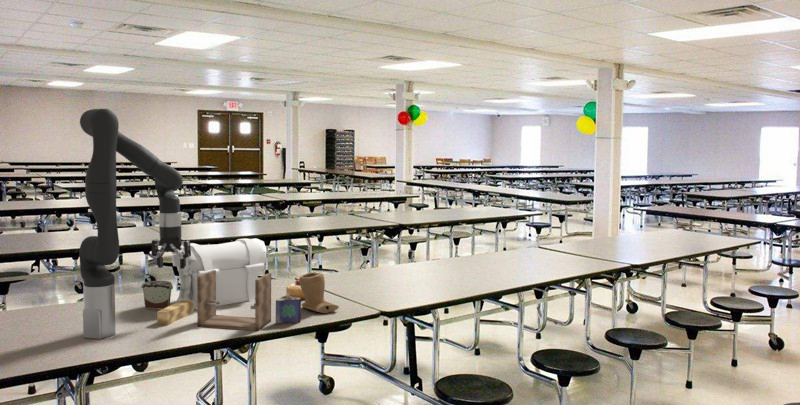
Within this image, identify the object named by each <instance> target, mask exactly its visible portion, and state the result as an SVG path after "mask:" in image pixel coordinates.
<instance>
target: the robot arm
mask: <svg viewBox="0 0 800 405" xmlns="http://www.w3.org/2000/svg"><path fill="white" fill-rule="evenodd" d="M79 125H80V128H81V130H82V131H83V132H84V133H85V134H87V135H88V136H90V137H92V155H91V159H90V161H89V164H88V167H87V170H86V173H85V178H84V179H85V180H84V185H85V186H84V187H85V188H84V190H85V194H84V195H85V199H86V203H87V205H88V207H89V209H90V211H91V213H92V215H93V217H94V219H95V223H96V228H97V235H90V236H87V237H85V238H84V239H83V240H82V242H81V243H80V247H79V256H78V257H79V267H80V268H79V269H80V276H81V279H82V280H83V302H84V309H83V310H82V329H83V330H82V331H83V332H82V333H83V334H82V336H83V337H82V338H84V339H96V340H97V339H98V340H100V339H103V338H108V337H109V338H110V337H113V336H114V335H116V291H115V290H116V288H115V282H116V280H115V275H114V274H113V273H112V272H110V271H109V270H108V269H107V268H106V266H111V265H113V264H115V262H116V261H117V260H118V258H119V255H120V240H119V239H120V238H119V237H120V236H119V231H118V230H119V229H118V219H117V153H118V154H119V155H121V156H122V157H123V158H124V159H126V160H128V162H130V163H132V164H133V165H134V166H135V167H136V168H137V169H139V170H140V171H141V172H142V173H144V174H145V175H147V176H149V177H152V178H154V187H155V191H156V195H157V198H158V201H159V202H158V204H159V207H158V208H159V209H158V210H159V218H158V222H159V223H158V224H159V226H158V227H159V238H160V239H158V238H156V239H152V240H151V257H155V258H156V266H157V268H159V269H162V268H164V257H163V256H164V254H165V253H172V252H176V254H178V255H179V257H180V258H181V259H180V269H184V268H185V267H186V258H187V257H189V256H191V247H190V243H191V241H190V240H183V239H182V235H183V234H182V216H181V203H180V198H179V197H178V196H176V194H175V190H178V189H180V188H181V187H182V186H183V183H184V180H183V176H182V174H181V173H180V171H178V170H177V169H175V168H174V167H173V166H171V165H169V164H167V163H166V162H164V161H162V160H161V159H160V158H158V157H157V156H156V155H155V154H154V153H152V152H151V151H150V150H149V149H148V148H146V147H145V146H143V145H141V144H140V143H139V142H136V141H135V140H133V139H131V138H130V137H128V136H126V135H125V134H123V133H122V132H120V131H119V128H120V127H119V118H118V117H117V114H115V112H114V111H113V110H111V109H109V108H92V109H88V110H86V111H84V112H83V113H82V114H81V116H80V119H79ZM159 245H160V249H159ZM181 246H183V247H184V250H183V249H182V248H181ZM184 251H185V253H184Z"/></svg>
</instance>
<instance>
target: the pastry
mask: <svg viewBox="0 0 800 405" xmlns="http://www.w3.org/2000/svg"><path fill="white" fill-rule="evenodd" d="M285 289H286V290H285V293H286V294H290V296H291V297H294V298H295V297H297V298H300V299H301V300H305V296H304V294H303V292H302V289H301V287H300V283H299V279H296V280H295V283H290V284H289V285H287V286H286V287H285Z"/></svg>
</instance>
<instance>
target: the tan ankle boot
mask: <svg viewBox="0 0 800 405" xmlns="http://www.w3.org/2000/svg"><path fill="white" fill-rule="evenodd" d="M299 283H300V287H301V289H302V292H303V294H304V296H305V299H304V300H305V301H304V302H301V308H305V309H307V310H310V311H313V312H318V313H322V314H328V313H332V312H335V311H336V310H338V309H339V308H340V307H339V305H337V304H334V303H331V302H329V301H326V300H325V299H324V298H325V296H324V295H325V288H326V287H325V286H326V285H325V283H326V282H325V276H324V273H322V272H320V271H319V272H316V271H313V272H307V273H304V274H301V275H300V276H299Z"/></svg>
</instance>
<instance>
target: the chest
mask: <svg viewBox="0 0 800 405" xmlns="http://www.w3.org/2000/svg"><path fill="white" fill-rule="evenodd" d="M190 247H191V256H189V257H187V258H186V267H185V268H184V269H180V259H181V258H180V257H179V255H178V254H176V252H171V259H172V266H173V267H176V268H177V272H178V275H179V280H180V281H179V282H180V288H179V294H178V297H177V299H176V301H177V302H180V301H182V300H193V304H194V309H195V310H197V276H200V275H202V274H205V273H207V272H209V271H212V270H216V301H220V304H216V307H219V306H225V305H230V304H237V303H242V302H243V303H244V302H255V280H256V279H258V278H259V276H260V275H261V272H262V271H263V270H264V269H265V268H266V267H265V264H266V263H267V248H266V246H265V242H264V240H261V239H259V238H237V239H236V240H235V241H230V242H223V243H218V244H198V243H194V242H190ZM181 248H182V249H183V250H184V247H183V245H181ZM184 253H185V251H184Z"/></svg>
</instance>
